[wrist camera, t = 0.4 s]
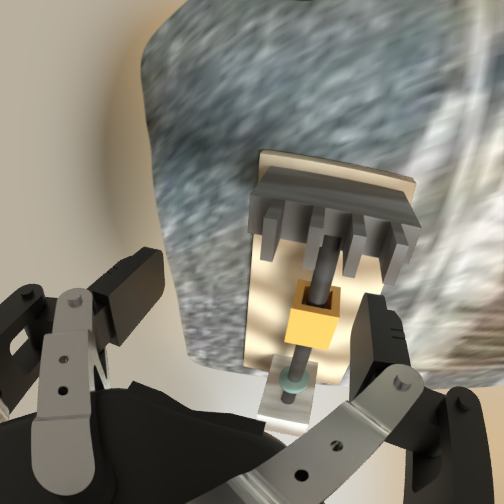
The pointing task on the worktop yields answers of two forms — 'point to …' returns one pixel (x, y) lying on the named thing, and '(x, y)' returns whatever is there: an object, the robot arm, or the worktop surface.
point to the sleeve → (313, 318)
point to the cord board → (290, 270)
